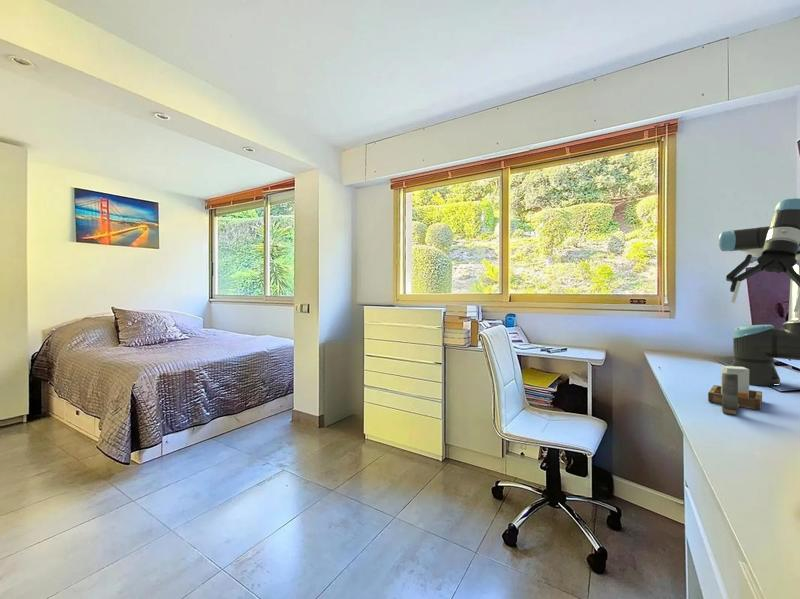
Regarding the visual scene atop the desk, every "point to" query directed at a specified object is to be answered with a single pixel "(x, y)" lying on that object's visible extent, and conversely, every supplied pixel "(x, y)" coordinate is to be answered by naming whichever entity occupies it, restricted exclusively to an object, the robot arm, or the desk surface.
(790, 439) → the desk surface
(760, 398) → the pull frame
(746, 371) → the skincare box
